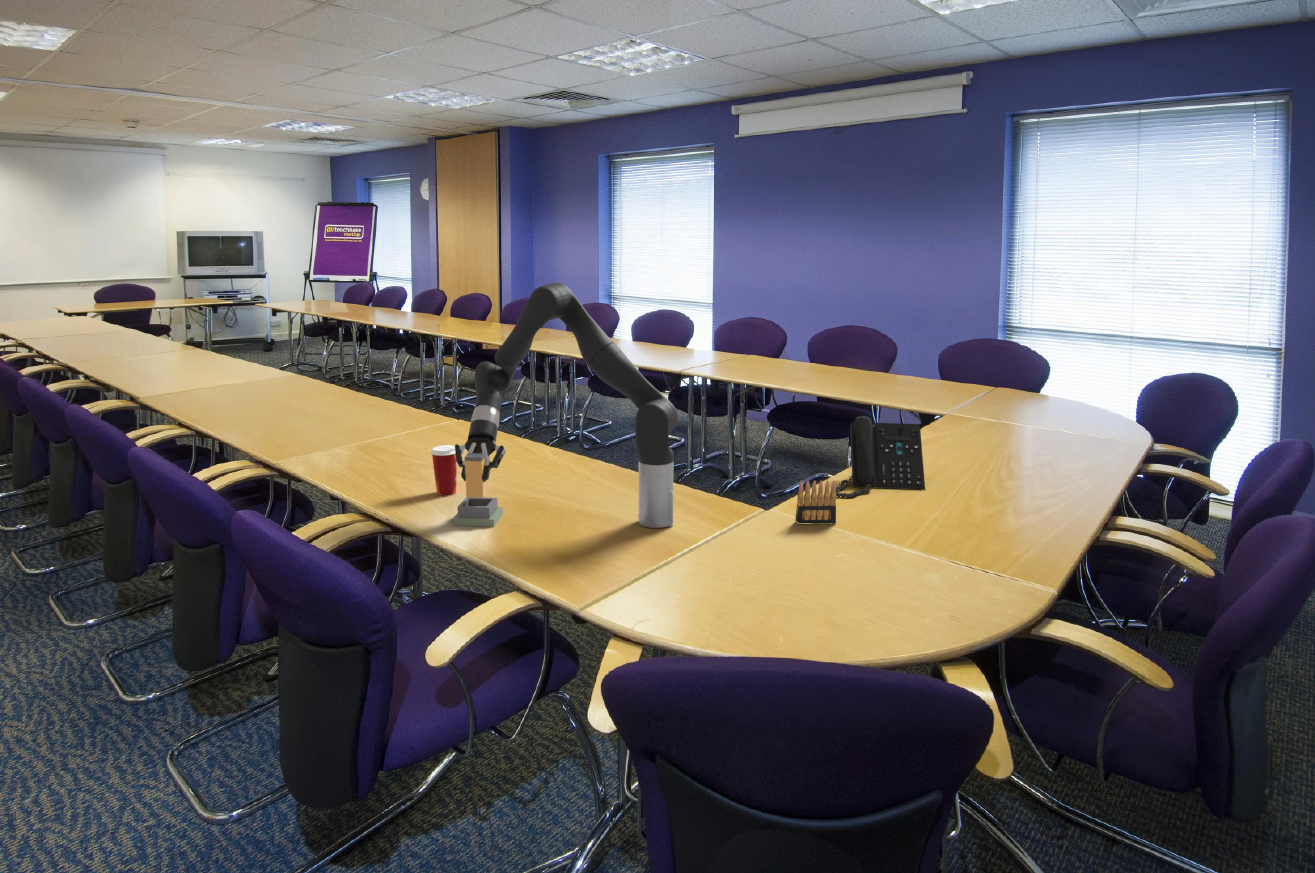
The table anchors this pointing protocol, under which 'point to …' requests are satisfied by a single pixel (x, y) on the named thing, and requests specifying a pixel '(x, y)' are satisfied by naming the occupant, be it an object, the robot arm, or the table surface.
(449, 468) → the paper cup
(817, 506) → the ammunition clip
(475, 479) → the grey-capped square pillar
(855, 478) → the office phone
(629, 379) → the robot arm
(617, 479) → the table surface
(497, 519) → the grey square tray
